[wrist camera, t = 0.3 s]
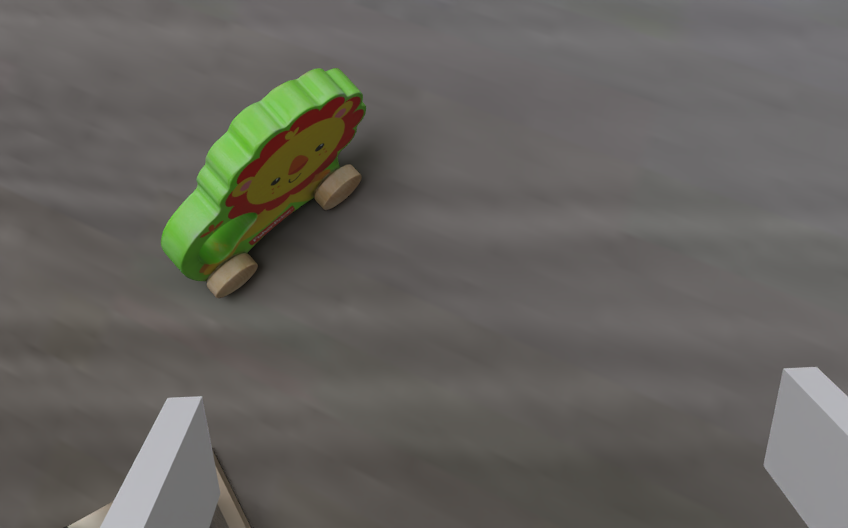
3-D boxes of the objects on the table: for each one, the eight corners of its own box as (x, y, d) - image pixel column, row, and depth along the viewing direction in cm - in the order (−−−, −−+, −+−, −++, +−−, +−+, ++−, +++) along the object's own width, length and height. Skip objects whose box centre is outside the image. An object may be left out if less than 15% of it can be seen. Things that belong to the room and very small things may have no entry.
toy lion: (226, 305, 51) (149, 277, 36) (179, 251, 51) (83, 200, 36) (388, 166, 53) (379, 84, 38) (341, 115, 53) (314, 14, 38)
